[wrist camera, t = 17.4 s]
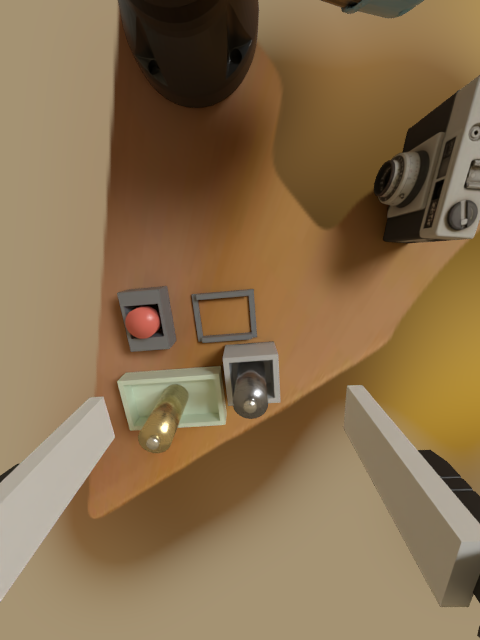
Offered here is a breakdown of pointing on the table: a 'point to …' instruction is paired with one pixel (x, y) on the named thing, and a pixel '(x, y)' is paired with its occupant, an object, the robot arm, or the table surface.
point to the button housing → (160, 297)
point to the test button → (143, 322)
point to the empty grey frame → (224, 295)
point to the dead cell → (250, 390)
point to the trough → (149, 385)
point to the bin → (252, 353)
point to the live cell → (164, 420)
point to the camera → (436, 174)
